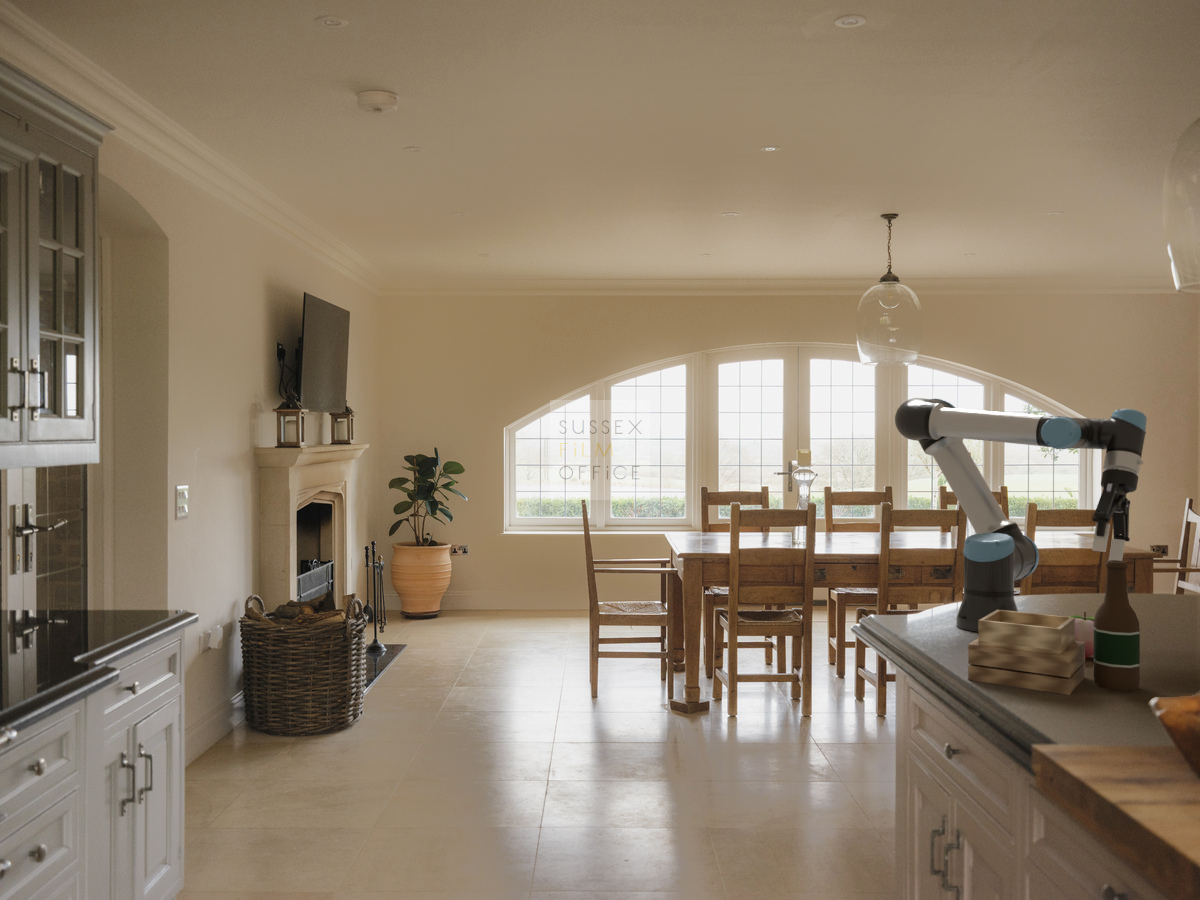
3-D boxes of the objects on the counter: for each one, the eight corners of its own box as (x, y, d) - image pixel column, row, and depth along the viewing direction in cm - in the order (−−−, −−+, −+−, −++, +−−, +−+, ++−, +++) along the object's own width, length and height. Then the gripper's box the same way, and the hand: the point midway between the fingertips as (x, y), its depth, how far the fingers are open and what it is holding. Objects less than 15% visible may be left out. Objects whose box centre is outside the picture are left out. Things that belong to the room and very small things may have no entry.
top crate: (978, 644, 179) (978, 620, 179) (997, 632, 191) (997, 609, 191) (1060, 654, 170) (1060, 629, 170) (1074, 641, 182) (1074, 617, 182)
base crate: (968, 679, 180) (968, 644, 179) (989, 664, 192) (989, 630, 192) (1069, 694, 169) (1069, 656, 169) (1084, 677, 181) (1084, 642, 181)
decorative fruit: (1110, 656, 200) (1110, 610, 200) (1109, 663, 193) (1109, 616, 193) (1062, 651, 204) (1062, 606, 204) (1059, 658, 197) (1059, 612, 197)
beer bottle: (1097, 679, 180) (1098, 557, 180) (1143, 685, 175) (1143, 560, 175) (1089, 687, 174) (1089, 561, 174) (1135, 694, 169) (1136, 564, 169)
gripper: (1124, 456, 207) (1110, 546, 203) (1150, 490, 224) (1137, 573, 220) (1088, 454, 212) (1073, 542, 208) (1116, 487, 229) (1103, 569, 225)
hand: (1106, 558), depth 214 cm, fingers open, 13 cm apart
